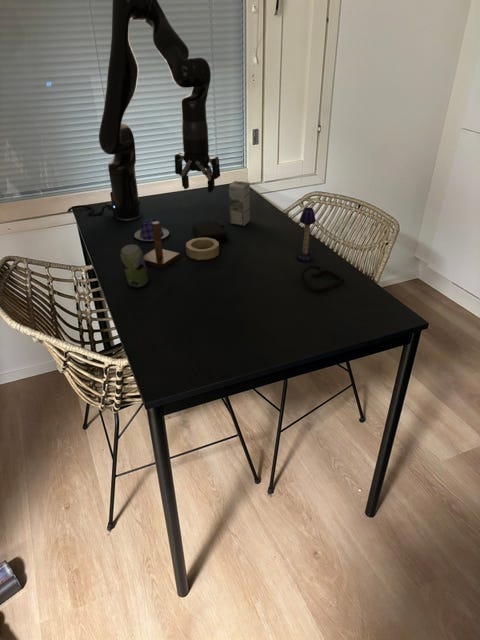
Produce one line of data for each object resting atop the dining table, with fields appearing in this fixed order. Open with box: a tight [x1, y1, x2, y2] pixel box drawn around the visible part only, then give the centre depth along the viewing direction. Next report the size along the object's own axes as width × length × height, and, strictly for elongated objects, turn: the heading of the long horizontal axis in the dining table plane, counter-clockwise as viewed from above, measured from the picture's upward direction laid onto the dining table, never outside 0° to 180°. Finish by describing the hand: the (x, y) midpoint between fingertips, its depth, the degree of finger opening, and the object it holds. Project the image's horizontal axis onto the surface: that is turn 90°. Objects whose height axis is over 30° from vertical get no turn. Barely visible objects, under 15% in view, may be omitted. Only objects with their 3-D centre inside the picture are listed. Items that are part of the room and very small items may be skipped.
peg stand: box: [143, 220, 181, 270], centre depth 153 cm, size 9×9×12 cm
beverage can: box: [119, 243, 150, 288], centre depth 140 cm, size 6×7×12 cm
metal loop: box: [299, 264, 344, 293], centre depth 141 cm, size 13×5×10 cm
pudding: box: [133, 218, 170, 242], centre depth 171 cm, size 12×12×5 cm
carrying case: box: [192, 219, 228, 243], centre depth 171 cm, size 11×3×15 cm
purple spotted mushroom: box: [297, 206, 316, 263], centre depth 151 cm, size 5×5×17 cm
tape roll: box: [185, 237, 220, 261], centre depth 160 cm, size 10×10×3 cm
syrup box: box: [228, 180, 251, 227], centre depth 178 cm, size 6×6×14 cm
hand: (198, 189), depth 153 cm, fingers open, 8 cm apart
